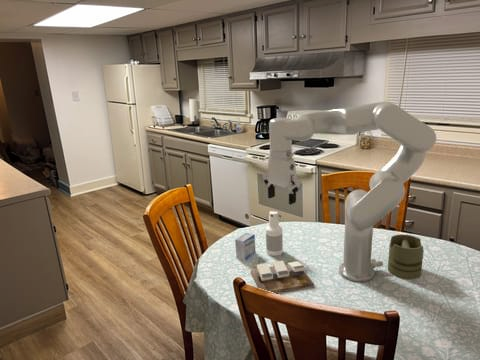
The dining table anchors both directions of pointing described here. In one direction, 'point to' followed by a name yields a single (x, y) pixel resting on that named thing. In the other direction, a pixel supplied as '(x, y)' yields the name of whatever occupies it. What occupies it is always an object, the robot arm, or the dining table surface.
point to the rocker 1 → (264, 272)
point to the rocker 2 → (296, 266)
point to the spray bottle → (274, 235)
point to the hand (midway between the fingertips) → (281, 200)
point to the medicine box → (245, 246)
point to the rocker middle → (280, 269)
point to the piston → (405, 256)
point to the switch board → (283, 280)
